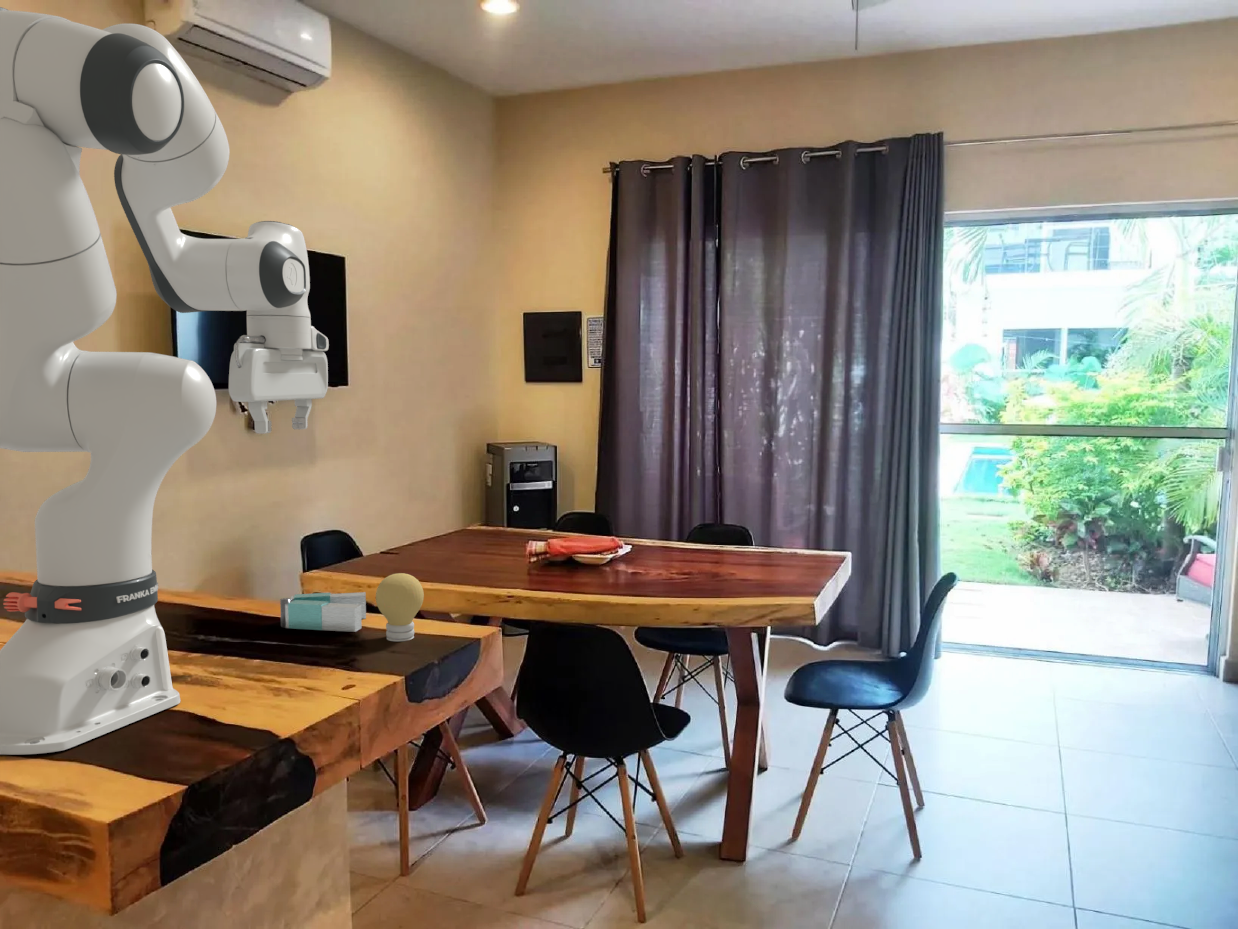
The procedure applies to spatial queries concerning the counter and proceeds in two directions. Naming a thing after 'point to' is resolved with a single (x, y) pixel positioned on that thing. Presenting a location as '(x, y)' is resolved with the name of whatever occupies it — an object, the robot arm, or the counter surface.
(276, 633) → the counter surface
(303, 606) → the tongs fixed arm
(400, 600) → the light bulb
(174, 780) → the counter surface
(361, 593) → the tong arm
